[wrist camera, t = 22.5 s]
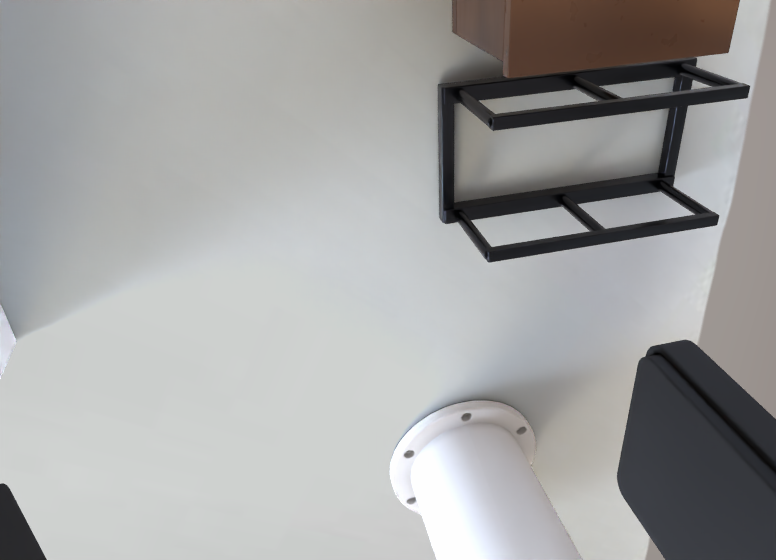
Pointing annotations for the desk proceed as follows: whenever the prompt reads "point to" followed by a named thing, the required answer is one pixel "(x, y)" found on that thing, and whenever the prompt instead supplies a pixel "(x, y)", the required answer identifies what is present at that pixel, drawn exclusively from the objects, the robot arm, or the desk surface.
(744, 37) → the desk surface
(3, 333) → the gable box
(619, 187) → the wire rack
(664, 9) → the chest lid
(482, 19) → the chest
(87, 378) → the desk surface
